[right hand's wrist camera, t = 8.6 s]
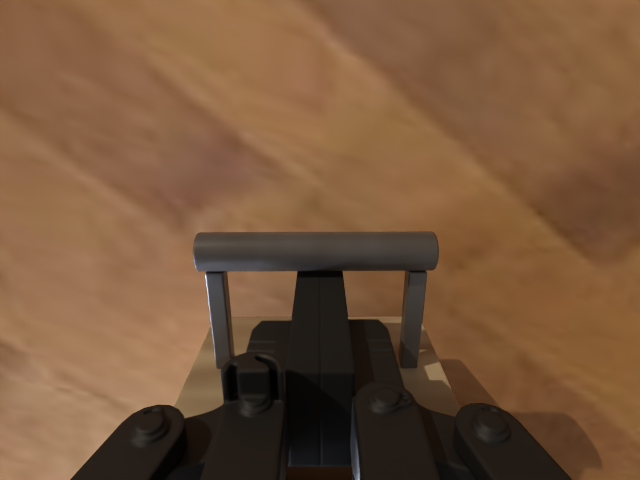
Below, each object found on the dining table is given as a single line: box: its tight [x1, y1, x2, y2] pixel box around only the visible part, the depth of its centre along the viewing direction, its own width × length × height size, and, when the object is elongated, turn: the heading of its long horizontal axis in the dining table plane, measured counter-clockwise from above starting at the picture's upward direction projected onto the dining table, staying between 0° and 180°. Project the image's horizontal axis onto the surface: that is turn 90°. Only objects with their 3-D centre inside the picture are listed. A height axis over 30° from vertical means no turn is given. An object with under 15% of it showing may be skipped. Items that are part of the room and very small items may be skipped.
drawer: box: [174, 232, 460, 480], centre depth 16 cm, size 20×9×6 cm, turn 0°
